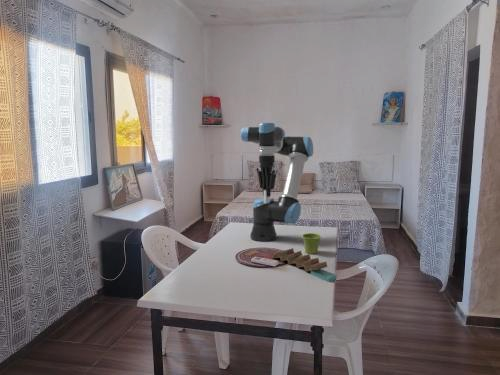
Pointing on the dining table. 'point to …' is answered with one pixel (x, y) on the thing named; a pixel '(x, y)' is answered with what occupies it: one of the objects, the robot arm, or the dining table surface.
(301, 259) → the domino
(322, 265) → the domino
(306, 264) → the domino
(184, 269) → the dining table surface
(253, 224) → the robot arm
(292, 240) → the dining table surface
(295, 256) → the domino
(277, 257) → the domino
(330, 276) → the domino
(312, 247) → the plant pot
